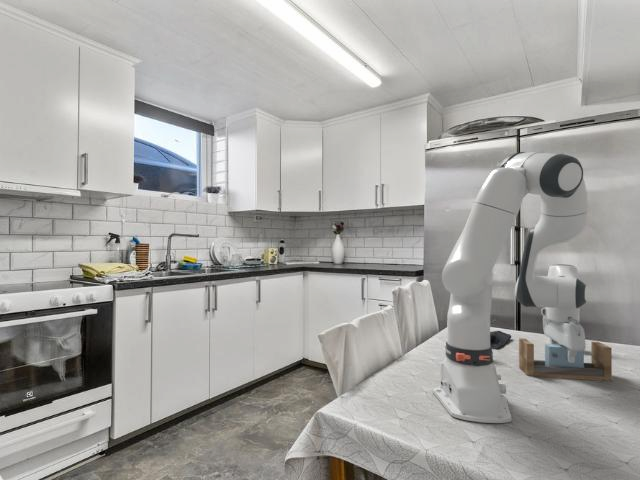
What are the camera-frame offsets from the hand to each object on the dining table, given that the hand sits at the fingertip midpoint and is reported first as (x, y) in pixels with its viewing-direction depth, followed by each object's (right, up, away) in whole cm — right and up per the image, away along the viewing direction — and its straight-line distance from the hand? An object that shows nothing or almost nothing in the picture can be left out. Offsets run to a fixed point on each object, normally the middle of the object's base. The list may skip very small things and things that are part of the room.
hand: (563, 357), depth 116 cm
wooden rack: (0, -5, 0) cm, 5 cm away
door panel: (0, -4, 0) cm, 4 cm away
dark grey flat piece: (-6, -6, +38) cm, 39 cm away
